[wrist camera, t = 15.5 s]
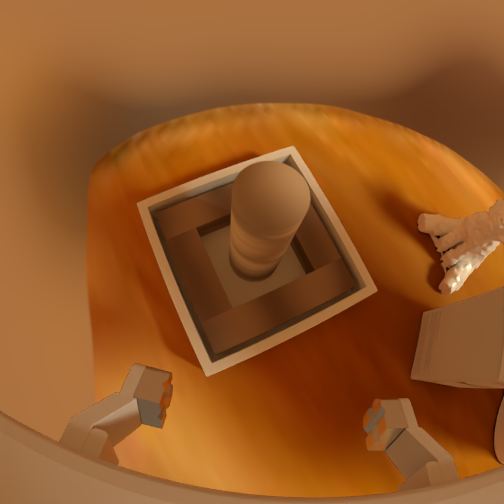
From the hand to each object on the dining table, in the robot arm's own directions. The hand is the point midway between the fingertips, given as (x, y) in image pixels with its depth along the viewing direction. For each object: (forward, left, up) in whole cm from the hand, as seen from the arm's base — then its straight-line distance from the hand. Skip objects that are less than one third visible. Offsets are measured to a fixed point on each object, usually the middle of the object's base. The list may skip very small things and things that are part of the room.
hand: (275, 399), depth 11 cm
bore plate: (-5, -9, -15) cm, 18 cm away
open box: (-5, -9, -16) cm, 19 cm away
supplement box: (-19, +8, -16) cm, 26 cm away
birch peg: (-5, -9, -15) cm, 18 cm away
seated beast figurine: (-27, -1, -16) cm, 31 cm away
